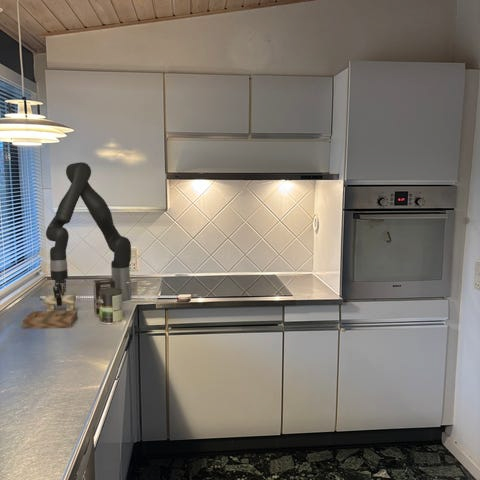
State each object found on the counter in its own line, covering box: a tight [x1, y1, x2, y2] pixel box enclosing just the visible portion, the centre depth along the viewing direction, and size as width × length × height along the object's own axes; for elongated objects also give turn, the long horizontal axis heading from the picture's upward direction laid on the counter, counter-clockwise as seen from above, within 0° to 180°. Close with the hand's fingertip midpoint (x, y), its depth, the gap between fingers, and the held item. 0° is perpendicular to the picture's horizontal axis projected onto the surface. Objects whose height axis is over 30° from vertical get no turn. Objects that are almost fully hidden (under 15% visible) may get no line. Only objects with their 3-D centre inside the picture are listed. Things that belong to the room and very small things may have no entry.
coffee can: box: [99, 288, 124, 325], centre depth 217 cm, size 10×10×14 cm
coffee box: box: [92, 278, 115, 317], centre depth 227 cm, size 9×6×16 cm
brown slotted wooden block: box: [22, 310, 79, 330], centre depth 213 cm, size 20×12×4 cm, turn 95°
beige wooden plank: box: [44, 294, 77, 311], centre depth 228 cm, size 13×4×8 cm, turn 95°
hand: (60, 303), depth 228 cm, fingers closed on beige wooden plank, 4 cm apart
